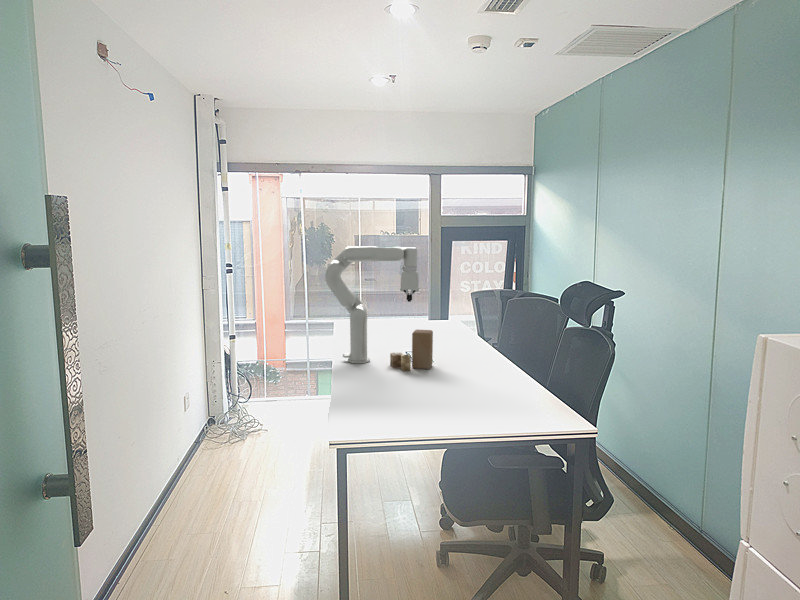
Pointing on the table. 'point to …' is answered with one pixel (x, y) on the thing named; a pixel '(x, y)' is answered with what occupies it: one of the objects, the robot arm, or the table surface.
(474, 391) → the table surface
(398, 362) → the walnut block
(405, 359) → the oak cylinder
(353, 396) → the table surface
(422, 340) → the block
